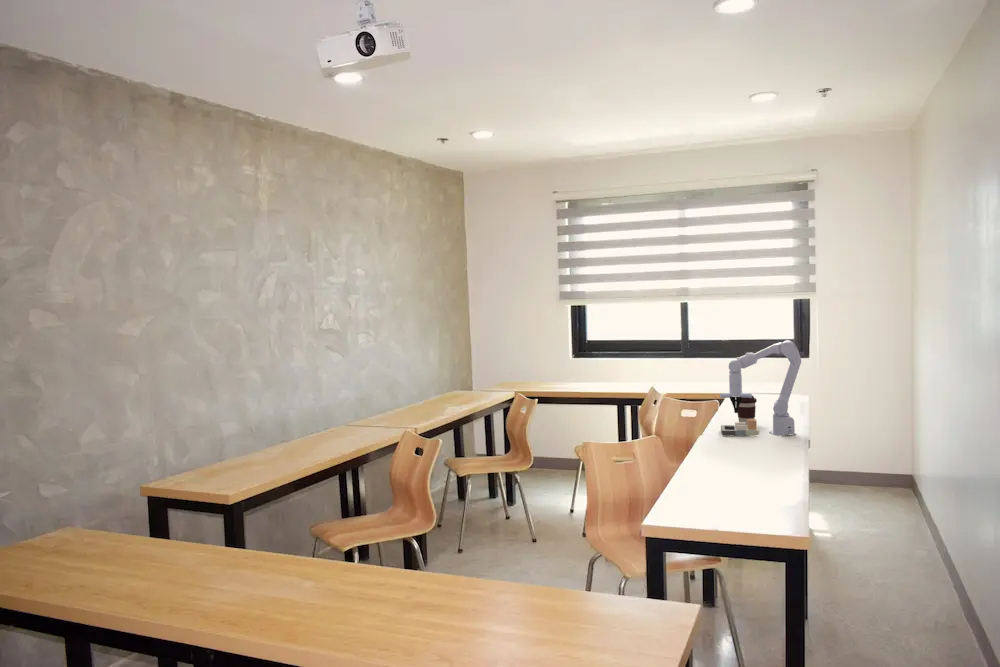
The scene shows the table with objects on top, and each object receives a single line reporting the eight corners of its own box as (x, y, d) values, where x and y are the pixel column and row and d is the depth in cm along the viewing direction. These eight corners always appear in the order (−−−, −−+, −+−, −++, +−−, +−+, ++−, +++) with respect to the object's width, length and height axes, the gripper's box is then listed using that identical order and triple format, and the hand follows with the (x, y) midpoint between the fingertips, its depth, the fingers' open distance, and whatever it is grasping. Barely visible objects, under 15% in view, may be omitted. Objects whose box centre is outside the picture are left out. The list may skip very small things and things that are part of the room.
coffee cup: (753, 427, 363) (752, 397, 362) (733, 426, 369) (732, 396, 368) (759, 424, 371) (759, 394, 370) (740, 422, 377) (739, 393, 376)
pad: (756, 430, 356) (756, 425, 356) (758, 435, 345) (758, 430, 345) (743, 430, 357) (743, 425, 357) (745, 435, 347) (745, 430, 346)
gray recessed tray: (743, 430, 358) (743, 425, 358) (745, 436, 346) (745, 430, 346) (720, 430, 361) (720, 425, 361) (722, 435, 348) (722, 430, 348)
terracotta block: (755, 427, 353) (755, 418, 353) (756, 429, 348) (756, 420, 348) (746, 427, 354) (746, 418, 354) (747, 429, 349) (747, 420, 349)
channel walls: (745, 426, 356) (745, 422, 356) (747, 430, 347) (747, 425, 347) (735, 426, 357) (734, 422, 357) (736, 429, 348) (736, 425, 348)
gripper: (720, 385, 352) (720, 414, 353) (752, 385, 348) (752, 414, 349) (719, 383, 359) (720, 411, 360) (750, 383, 355) (751, 411, 356)
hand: (736, 412), depth 355 cm, fingers closed
